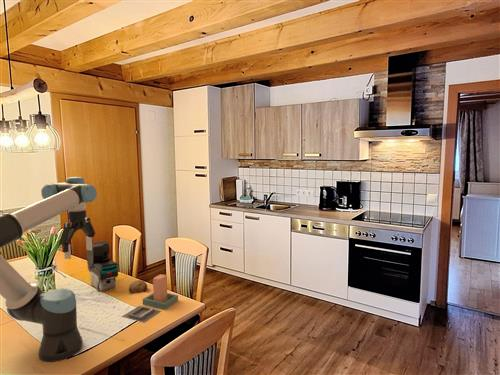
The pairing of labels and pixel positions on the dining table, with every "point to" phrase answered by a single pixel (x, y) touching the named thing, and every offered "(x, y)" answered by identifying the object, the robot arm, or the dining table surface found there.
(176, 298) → the tray
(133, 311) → the gray recessed plate
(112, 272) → the bill acceptor
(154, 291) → the salmon pink block
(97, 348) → the dining table surface
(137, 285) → the bread roll
